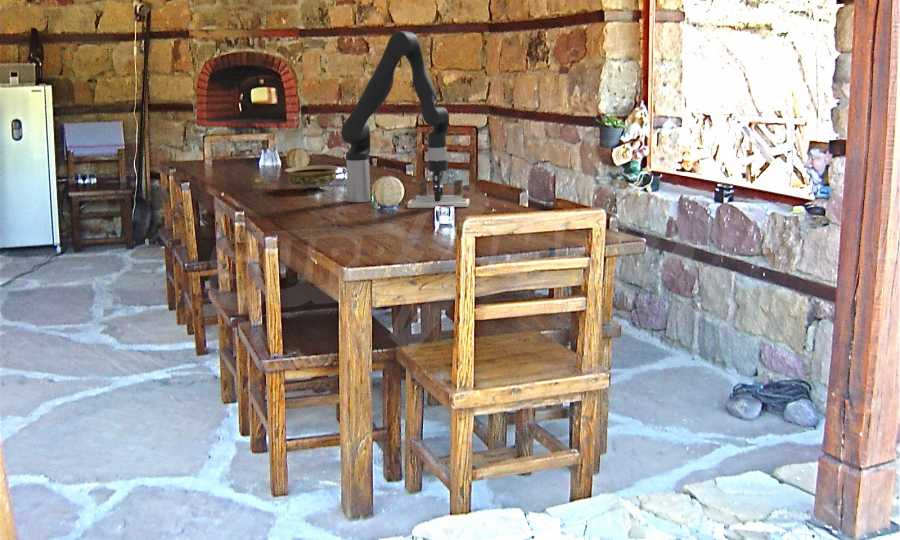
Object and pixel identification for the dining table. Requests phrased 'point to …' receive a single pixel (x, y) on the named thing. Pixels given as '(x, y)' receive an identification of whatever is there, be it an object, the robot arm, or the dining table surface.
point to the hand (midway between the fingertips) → (438, 199)
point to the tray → (413, 204)
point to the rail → (442, 198)
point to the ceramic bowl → (312, 176)
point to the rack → (457, 187)
